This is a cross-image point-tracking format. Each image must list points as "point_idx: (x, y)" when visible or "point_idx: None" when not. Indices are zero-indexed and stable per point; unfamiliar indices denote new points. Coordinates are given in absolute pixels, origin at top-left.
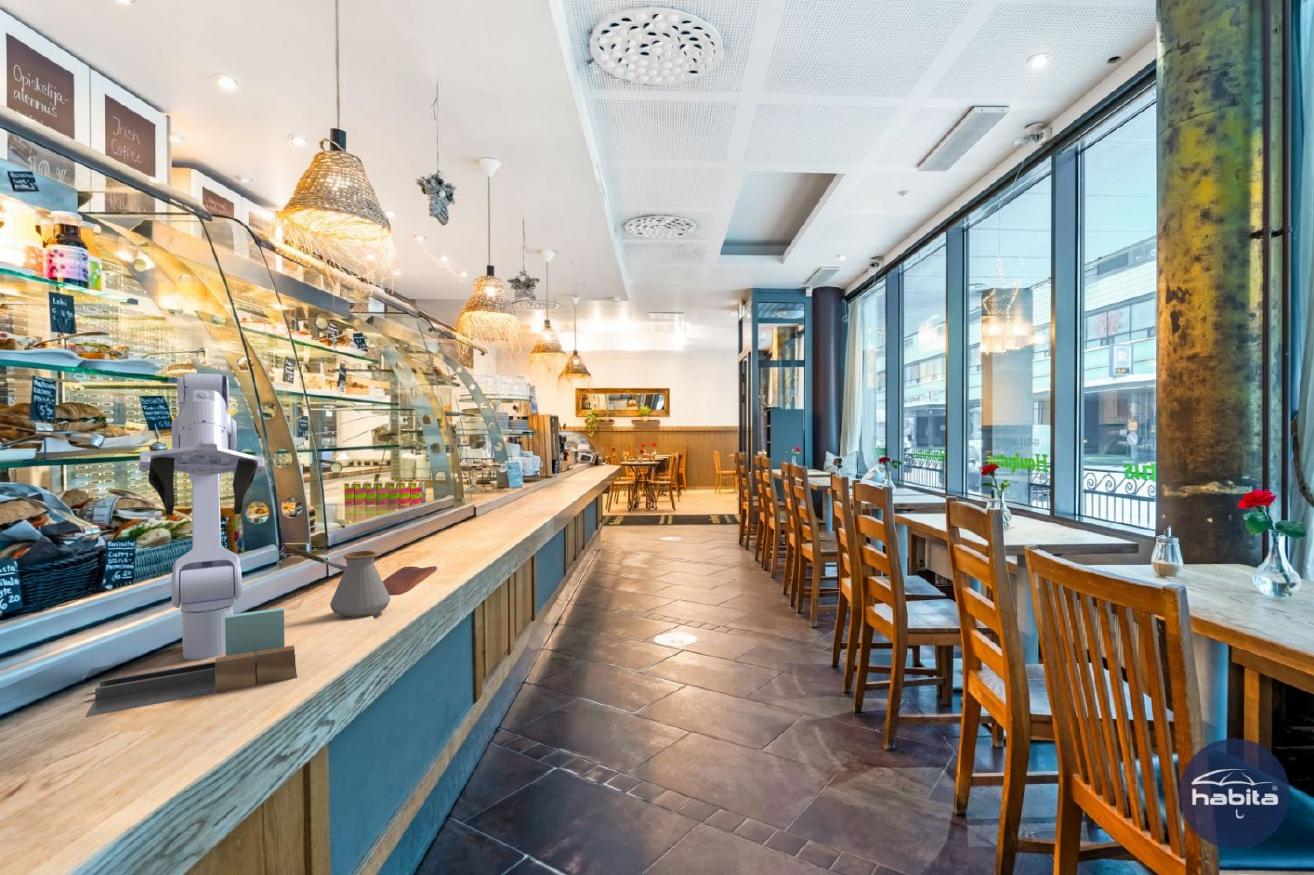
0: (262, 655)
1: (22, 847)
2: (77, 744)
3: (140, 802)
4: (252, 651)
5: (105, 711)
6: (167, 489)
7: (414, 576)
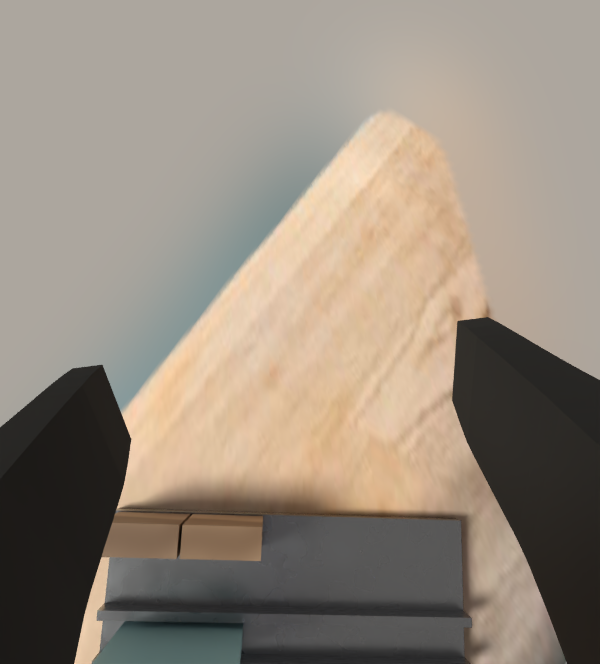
0: (167, 523)
1: (441, 167)
2: (449, 432)
3: (342, 194)
4: (184, 639)
5: (434, 527)
6: (559, 361)
7: None
